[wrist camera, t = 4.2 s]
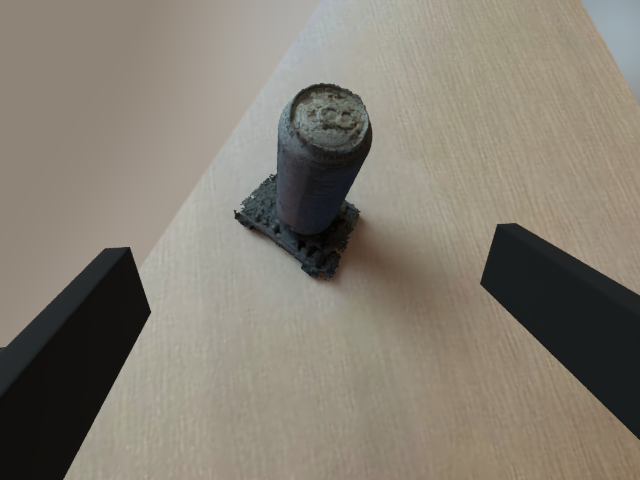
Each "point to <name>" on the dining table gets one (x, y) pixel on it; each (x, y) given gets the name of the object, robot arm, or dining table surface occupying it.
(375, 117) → the dining table surface
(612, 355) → the robot arm
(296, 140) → the beverage can
